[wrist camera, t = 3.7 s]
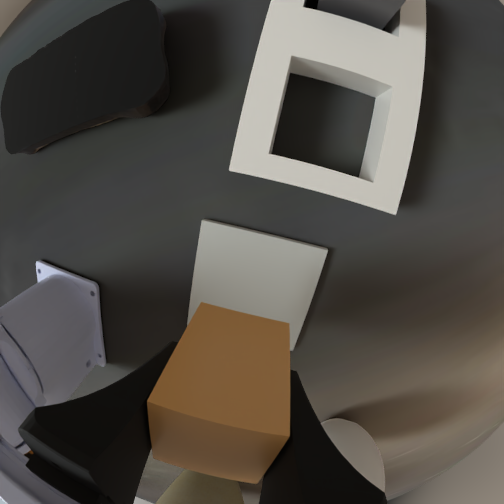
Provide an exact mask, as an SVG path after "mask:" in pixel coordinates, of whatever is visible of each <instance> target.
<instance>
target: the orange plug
mask: <svg viewBox="0 0 504 504" xmlns="http://www.w3.org/2000/svg"><path fill="white" fill-rule="evenodd" d="M147 408H148V419H149V429H150V438H151V446H152V453H153V458H154V459H157V460H160V461H162V462H165V463H168V464H172V465H175V466H178V467H181V468H185V469H188V470H192V471H195V472H199V473H203V474H207V475H211V476H216V477H220V478H225V479H230V480H235V481H241V482H247V483H254V484H257V483H258V482H259V480H260V479H261V478H262V476H263V475H264V474H265V472H266V471H267V469H268V468H269V467H270V465H271V464H272V462H273V461H274V459H275V458H276V456H277V455H278V454H279V452H280V451H281V449H282V448H283V446H284V444H285V443H286V441H287V440H288V438H289V437H290V325H289V323H286V322H282V321H277V320H273V319H268V318H264V317H260V316H255V315H251V314H247V313H243V312H239V311H235V310H231V309H227V308H223V307H219V306H215V305H211V304H208V303H204V302H201V303H200V305H199V306H198V308H197V310H196V312H195V314H194V315H193V317H192V319H191V321H190V323H189V324H188V326H187V328H186V330H185V332H184V333H183V335H182V337H181V339H180V341H179V343H178V344H177V346H176V348H175V350H174V352H173V354H172V355H171V357H170V359H169V361H168V363H167V365H166V366H165V368H164V370H163V372H162V374H161V376H160V378H159V379H158V381H157V383H156V385H155V387H154V389H153V391H152V393H151V394H150V396H149V398H148V400H147Z"/></svg>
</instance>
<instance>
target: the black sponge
mask: <svg viewBox="0 0 504 504" xmlns="http://www.w3.org/2000/svg"><path fill="white" fill-rule="evenodd" d="M166 27H167V25H166V21H165V19H164V17H163V14H162V12H161V10H160V9H159V8H158V7H157V6H156V5H155V4H154V3H153V2H152V1H150V0H129V1H126V2H123V3H120V4H118V5H116V6H114V7H111V8H109V9H107V10H106V11H104V12H102V13H100V14H98V15H96V16H93V17H91V18H89V19H87V20H86V21H84V22H83V23H81V24H80V25H78V26H76V27H74V28H73V29H71V30H69V31H67V32H66V33H65V34H63V35H62V36H60V37H58V38H57V39H56V40H53V41H52V42H51V43H49V44H47V45H46V46H45V47H43V48H41V49H39V50H38V51H37V52H36V53H35V54H34V55H32V56H31V57H29V58H28V59H26V60H25V61H23V62H22V63H20V64H18V65H17V66H15V67H14V68H13V69H12V70H11V71H10V73H9V75H8V77H7V80H6V84H5V87H4V91H3V95H2V101H1V118H2V122H3V127H4V136H5V145H6V149H7V151H8V152H9V153H10V154H16V153H25V154H34V153H36V152H37V151H38V150H39V149H40V148H42V147H44V146H46V145H48V144H49V143H51V142H53V141H56V140H58V139H60V138H63V137H65V136H67V135H71V134H73V133H76V132H78V131H80V130H83V129H86V128H91V127H94V126H97V125H101V124H103V123H106V122H109V121H112V120H114V119H116V118H120V117H129V118H143V117H147V116H149V115H151V114H152V113H154V112H156V111H157V110H158V109H159V108H160V107H161V106H162V105H163V104H164V103H165V101H166V100H167V98H168V96H169V93H170V84H169V69H168V63H167V59H166V55H165V51H164V34H165V30H166Z"/></svg>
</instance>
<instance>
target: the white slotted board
mask: <svg viewBox="0 0 504 504" xmlns="http://www.w3.org/2000/svg"><path fill="white" fill-rule="evenodd" d="M306 2H307V0H271V3H270V6H269V10H268V13H267V17H266V20H265V24H264V27H263V31H262V34H261V38H260V42H259V45H258V49H257V53H256V57H255V61H254V64H253V68H252V72H251V76H250V80H249V84H248V88H247V92H246V96H245V101H244V105H243V109H242V113H241V118H240V122H239V126H238V131H237V135H236V140H235V144H234V149H233V153H232V158H231V163H230V167H229V171H234V172H238V173H243V174H248V175H252V176H257V177H261V178H266V179H270V180H274V181H278V182H283V183H287V184H291V185H295V186H299V187H303V188H306V189H310V190H314V191H318V192H321V193H325V194H329V195H332V196H336V197H339V198H343V199H346V200H349V201H353V202H356V203H359V204H363V205H366V206H369V207H372V208H375V209H379V210H382V211H385V212H388V213H391V214H394V215H396V213H397V209H398V206H399V202H400V198H401V195H402V191H403V187H404V183H405V179H406V175H407V171H408V167H409V162H410V158H411V153H412V148H413V143H414V138H415V133H416V127H417V121H418V115H419V109H420V101H421V94H422V85H423V75H424V63H425V47H426V0H406V1H405V3H404V4H403V5H402V6H401V7H400V9H399V10H398V11H397V12H396V13H395V15H394V16H393V17H392V18H391V19H390V21H389V22H388V23H387V24H386V27H385V31H382V30H380V29H377V28H374V27H372V26H369V25H366V24H363V23H360V22H357V21H354V20H351V19H348V18H345V17H341V16H338V15H334V14H331V13H327V12H323V11H319V10H314V9H310V8H305V7H306ZM290 73H294V74H298V75H302V76H307V77H311V78H315V79H318V80H322V81H326V82H329V83H333V84H336V85H339V86H343V87H346V88H349V89H352V90H355V91H358V92H361V93H364V94H367V95H369V96H372V97H375V98H376V99H375V105H374V110H373V116H372V121H371V126H370V130H369V135H368V140H367V144H366V149H365V153H364V158H363V162H362V166H361V170H360V174H359V178H357V177H354V176H351V175H348V174H344V173H341V172H338V171H334V170H331V169H327V168H324V167H320V166H317V165H313V164H309V163H305V162H301V161H297V160H294V159H289V158H285V157H281V156H277V155H273V154H271V153H272V149H273V144H274V140H275V136H276V131H277V127H278V123H279V118H280V114H281V110H282V105H283V101H284V97H285V92H286V88H287V84H288V79H289V75H290Z"/></svg>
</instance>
